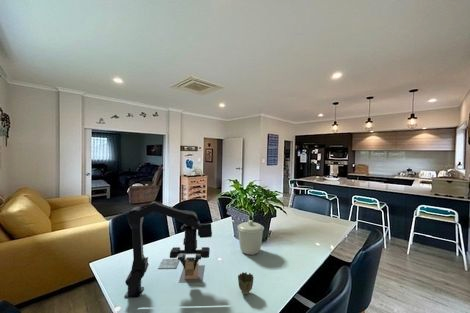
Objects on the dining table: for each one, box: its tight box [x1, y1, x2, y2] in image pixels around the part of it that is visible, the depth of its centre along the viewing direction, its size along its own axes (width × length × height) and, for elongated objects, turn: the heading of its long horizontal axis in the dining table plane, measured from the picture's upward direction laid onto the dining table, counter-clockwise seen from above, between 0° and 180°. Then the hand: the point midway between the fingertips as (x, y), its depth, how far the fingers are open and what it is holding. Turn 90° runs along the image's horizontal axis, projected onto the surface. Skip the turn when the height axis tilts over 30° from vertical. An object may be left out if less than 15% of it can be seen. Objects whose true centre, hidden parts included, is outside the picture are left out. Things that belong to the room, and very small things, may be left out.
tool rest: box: [157, 258, 180, 270], centre depth 122 cm, size 10×10×1 cm
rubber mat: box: [178, 264, 206, 284], centre depth 113 cm, size 16×12×1 cm
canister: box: [237, 219, 265, 256], centre depth 141 cm, size 18×18×21 cm
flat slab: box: [184, 261, 200, 279], centre depth 108 cm, size 2×7×8 cm, turn 94°
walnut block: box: [185, 256, 196, 276], centre depth 102 cm, size 4×4×7 cm
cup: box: [237, 271, 255, 296], centre depth 98 cm, size 8×7×8 cm
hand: (189, 269), depth 102 cm, fingers closed on walnut block, 4 cm apart
